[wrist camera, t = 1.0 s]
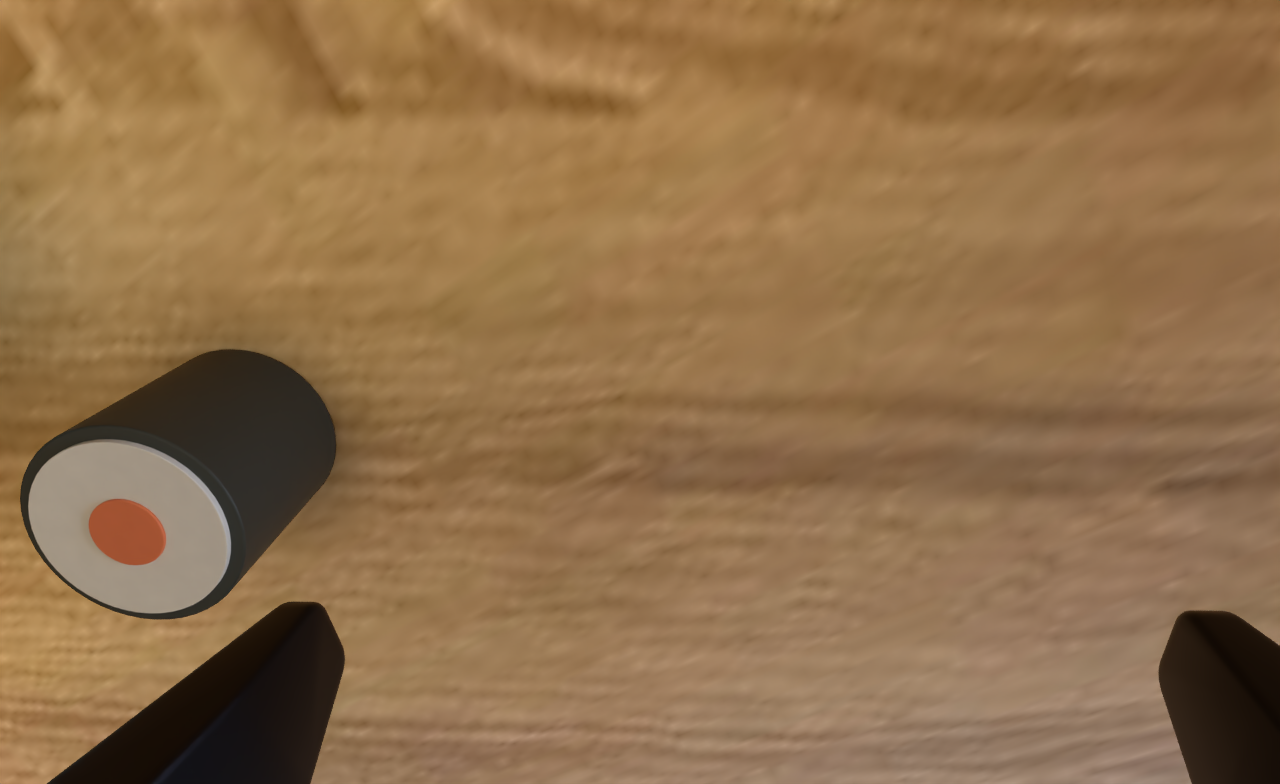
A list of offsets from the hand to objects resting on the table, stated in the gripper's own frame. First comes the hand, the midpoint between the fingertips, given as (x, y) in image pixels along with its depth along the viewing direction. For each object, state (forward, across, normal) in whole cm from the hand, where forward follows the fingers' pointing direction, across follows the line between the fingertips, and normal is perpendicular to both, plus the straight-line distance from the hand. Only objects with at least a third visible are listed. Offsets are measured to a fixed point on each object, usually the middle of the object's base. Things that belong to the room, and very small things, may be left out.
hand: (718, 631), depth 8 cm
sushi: (+10, +13, +4) cm, 17 cm away
